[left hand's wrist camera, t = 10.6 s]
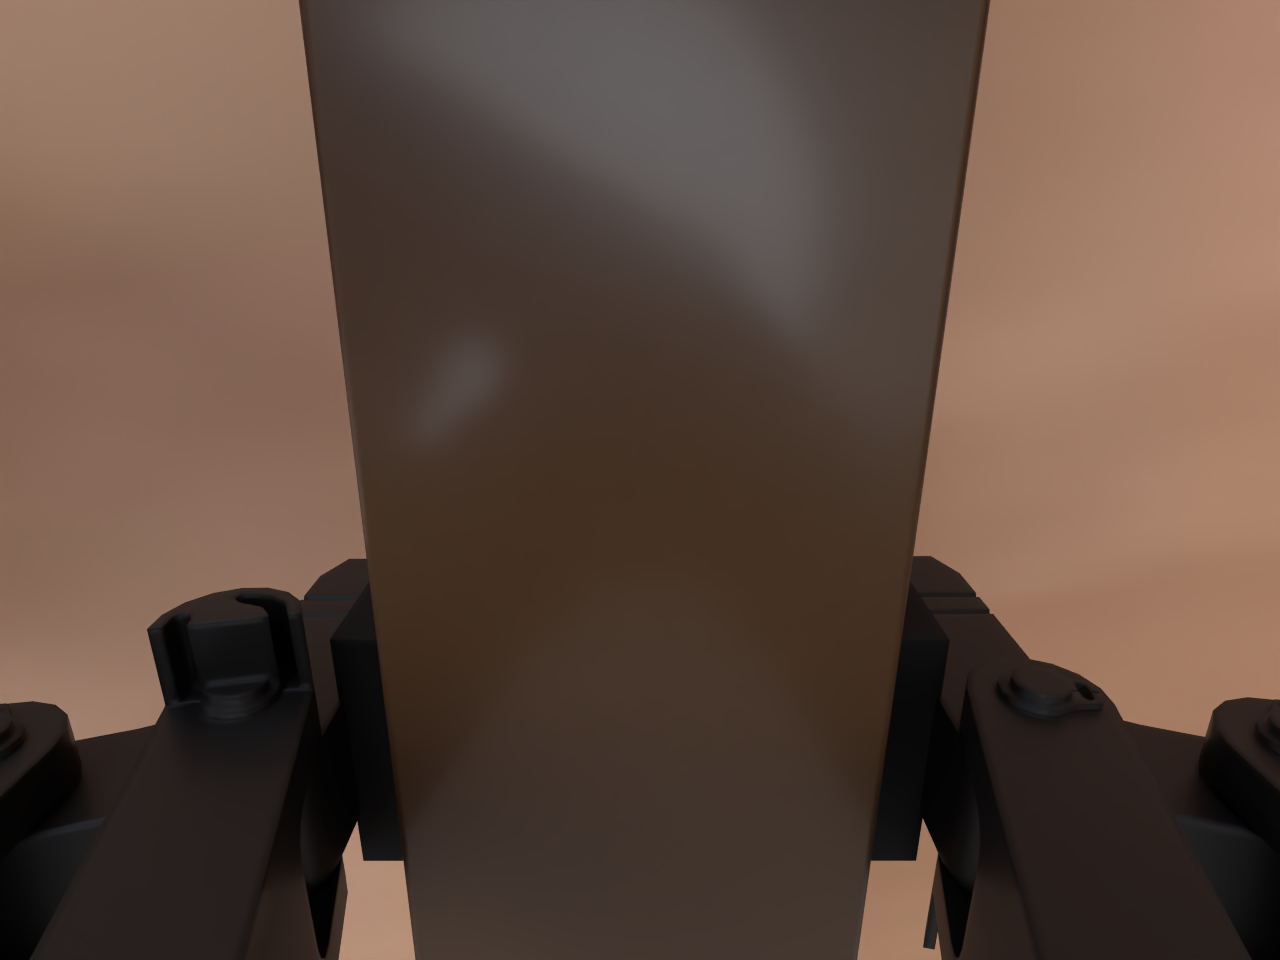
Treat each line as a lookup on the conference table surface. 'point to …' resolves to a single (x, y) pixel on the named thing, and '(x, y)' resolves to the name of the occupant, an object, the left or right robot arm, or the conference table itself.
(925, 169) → the beam
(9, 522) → the conference table surface
